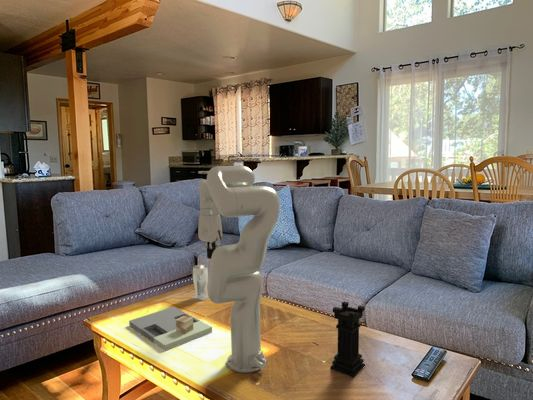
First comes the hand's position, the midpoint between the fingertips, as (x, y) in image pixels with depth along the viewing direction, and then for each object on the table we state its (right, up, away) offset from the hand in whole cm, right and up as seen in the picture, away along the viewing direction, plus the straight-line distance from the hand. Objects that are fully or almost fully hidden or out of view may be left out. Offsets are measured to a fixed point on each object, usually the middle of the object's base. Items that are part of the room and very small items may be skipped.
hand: (211, 257), depth 160 cm
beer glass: (-9, -23, +30) cm, 39 cm away
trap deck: (-16, -27, -1) cm, 32 cm away
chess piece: (+47, -31, -31) cm, 64 cm away
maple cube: (-9, -26, -7) cm, 29 cm away
